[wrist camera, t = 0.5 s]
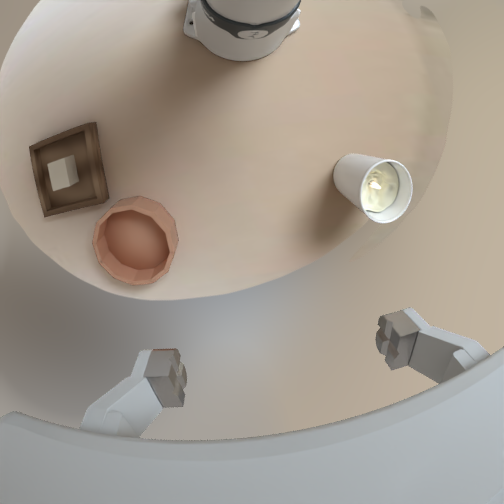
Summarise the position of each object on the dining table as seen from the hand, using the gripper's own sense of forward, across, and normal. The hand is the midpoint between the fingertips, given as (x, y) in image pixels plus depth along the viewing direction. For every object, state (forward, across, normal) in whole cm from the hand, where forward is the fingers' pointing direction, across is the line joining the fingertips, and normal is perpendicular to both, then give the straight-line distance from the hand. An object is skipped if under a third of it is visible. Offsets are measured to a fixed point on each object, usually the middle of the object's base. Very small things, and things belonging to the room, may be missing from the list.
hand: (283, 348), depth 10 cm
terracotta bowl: (+38, +20, +4) cm, 43 cm away
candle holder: (+39, -20, -2) cm, 44 cm away
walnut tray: (+36, +30, -11) cm, 48 cm away
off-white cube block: (+35, +30, -11) cm, 48 cm away
